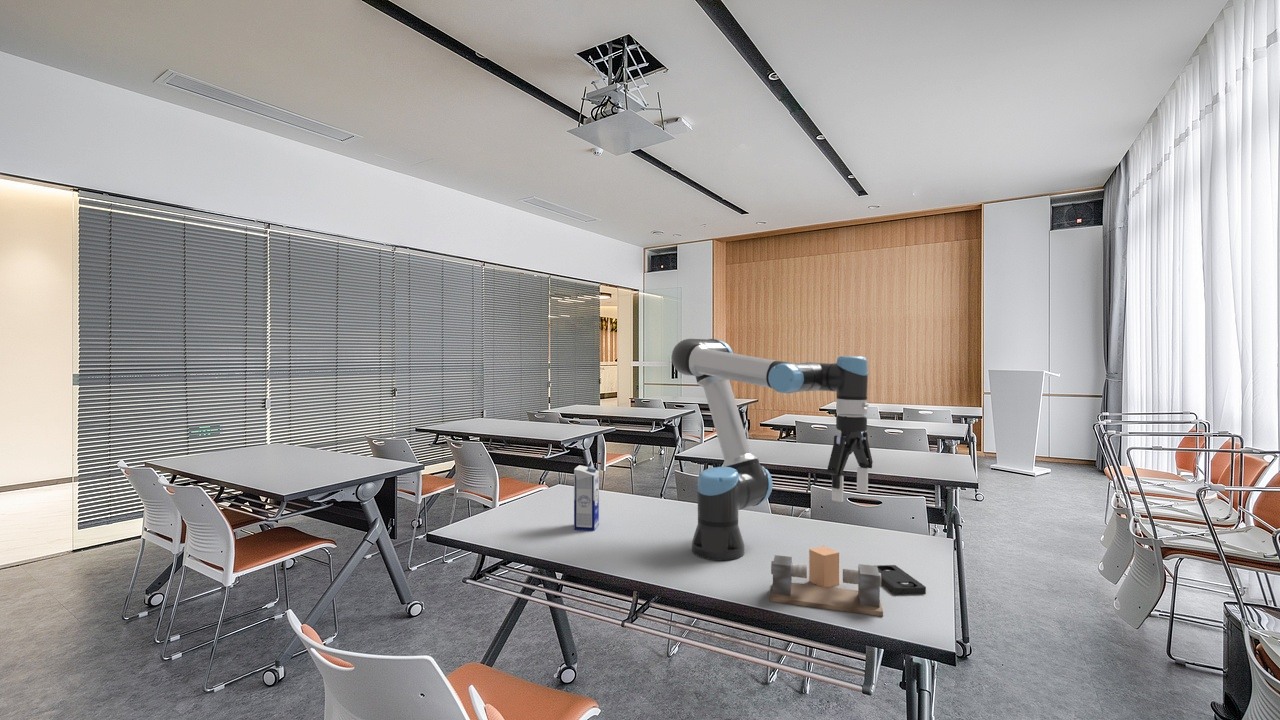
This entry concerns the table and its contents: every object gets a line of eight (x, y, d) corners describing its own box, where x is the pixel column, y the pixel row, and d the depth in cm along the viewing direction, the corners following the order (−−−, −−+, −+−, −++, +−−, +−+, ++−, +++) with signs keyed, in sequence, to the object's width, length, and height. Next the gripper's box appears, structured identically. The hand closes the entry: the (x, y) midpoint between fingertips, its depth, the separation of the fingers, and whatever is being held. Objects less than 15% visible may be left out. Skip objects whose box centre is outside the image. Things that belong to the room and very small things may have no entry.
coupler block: (824, 588, 135) (824, 555, 135) (809, 581, 139) (809, 549, 139) (839, 584, 137) (839, 552, 137) (823, 577, 142) (823, 546, 142)
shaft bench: (769, 601, 128) (769, 566, 128) (773, 584, 137) (773, 552, 137) (883, 616, 120) (883, 579, 120) (878, 597, 130) (878, 563, 130)
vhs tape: (926, 595, 132) (926, 587, 132) (894, 596, 132) (894, 588, 132) (895, 572, 146) (895, 564, 146) (866, 573, 146) (866, 565, 146)
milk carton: (579, 523, 187) (579, 464, 187) (598, 524, 186) (598, 464, 186) (573, 530, 180) (573, 468, 180) (594, 531, 179) (594, 469, 179)
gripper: (841, 420, 134) (840, 508, 134) (886, 413, 151) (885, 491, 151) (813, 417, 139) (812, 501, 140) (859, 410, 156) (858, 486, 156)
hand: (850, 496), depth 145 cm, fingers open, 13 cm apart
